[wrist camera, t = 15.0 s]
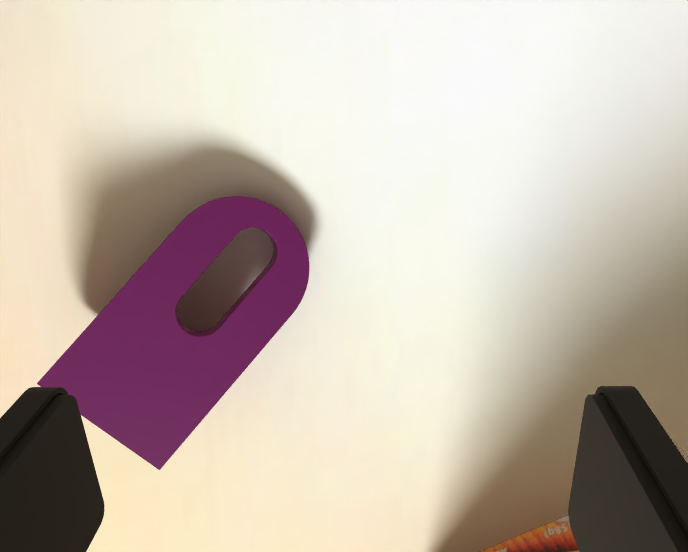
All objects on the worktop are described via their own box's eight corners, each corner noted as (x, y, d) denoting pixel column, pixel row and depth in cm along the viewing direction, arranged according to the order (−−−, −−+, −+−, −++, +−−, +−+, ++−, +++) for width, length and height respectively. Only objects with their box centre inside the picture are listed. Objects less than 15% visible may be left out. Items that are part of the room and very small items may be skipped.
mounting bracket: (223, 176, 46) (63, 353, 45) (231, 166, 38) (36, 383, 36) (312, 255, 49) (163, 427, 47) (337, 262, 41) (159, 470, 39)
